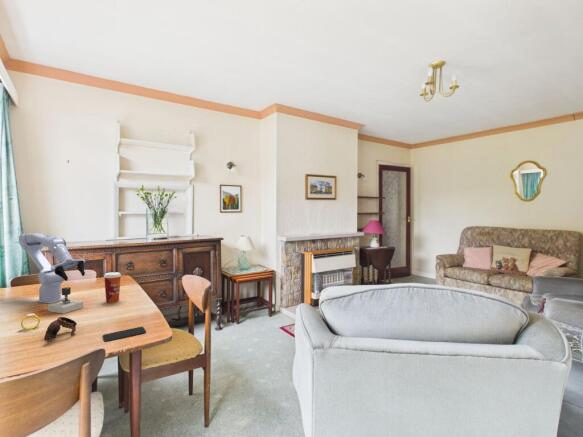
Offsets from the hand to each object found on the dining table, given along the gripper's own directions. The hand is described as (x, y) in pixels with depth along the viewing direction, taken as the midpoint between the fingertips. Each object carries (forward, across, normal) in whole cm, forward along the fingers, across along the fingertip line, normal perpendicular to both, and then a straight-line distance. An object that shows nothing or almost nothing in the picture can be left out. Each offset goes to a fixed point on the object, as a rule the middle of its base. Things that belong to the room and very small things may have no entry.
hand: (75, 277), depth 154 cm
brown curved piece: (+33, -21, -12) cm, 41 cm away
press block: (+9, -6, +12) cm, 16 cm away
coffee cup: (+15, +14, +11) cm, 23 cm away
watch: (+19, -24, 0) cm, 31 cm away
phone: (+48, -5, -23) cm, 54 cm away
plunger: (+7, -5, +9) cm, 12 cm away
